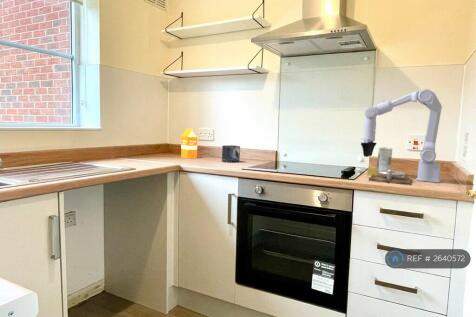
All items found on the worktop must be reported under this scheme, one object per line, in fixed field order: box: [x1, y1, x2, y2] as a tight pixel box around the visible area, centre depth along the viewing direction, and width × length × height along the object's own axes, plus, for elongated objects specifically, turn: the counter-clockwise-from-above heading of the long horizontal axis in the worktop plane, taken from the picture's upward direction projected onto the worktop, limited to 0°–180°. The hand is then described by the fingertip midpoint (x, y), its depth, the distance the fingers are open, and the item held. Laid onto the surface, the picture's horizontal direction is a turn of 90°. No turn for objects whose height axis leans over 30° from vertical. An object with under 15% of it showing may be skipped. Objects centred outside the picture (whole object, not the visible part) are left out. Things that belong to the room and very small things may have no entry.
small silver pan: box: [366, 167, 406, 177], centre depth 157 cm, size 16×12×4 cm
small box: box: [221, 144, 241, 163], centre depth 209 cm, size 11×6×10 cm, turn 131°
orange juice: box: [180, 128, 198, 159], centre depth 225 cm, size 8×9×20 cm
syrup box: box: [376, 146, 393, 174], centre depth 177 cm, size 6×6×14 cm
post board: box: [368, 171, 412, 186], centre depth 156 cm, size 17×20×5 cm
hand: (367, 156), depth 170 cm, fingers open, 7 cm apart
